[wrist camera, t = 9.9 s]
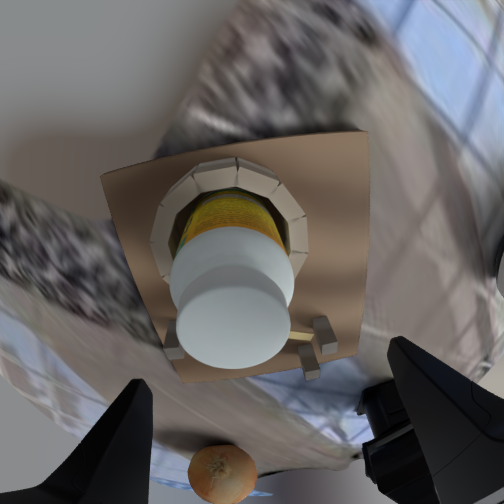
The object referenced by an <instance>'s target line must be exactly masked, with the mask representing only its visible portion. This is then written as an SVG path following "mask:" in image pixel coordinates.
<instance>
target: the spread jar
mask: <svg viewBox="0 0 504 504" xmlns="http://www.w3.org/2000/svg"><path fill="white" fill-rule="evenodd" d="M495 273H496V284H497V287H498V290H499V292H500V293H501V295H502V296H503V297H504V238H503V240H502V242H501V245H500V247H499V250H498V253H497V257H496V268H495Z"/></svg>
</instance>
